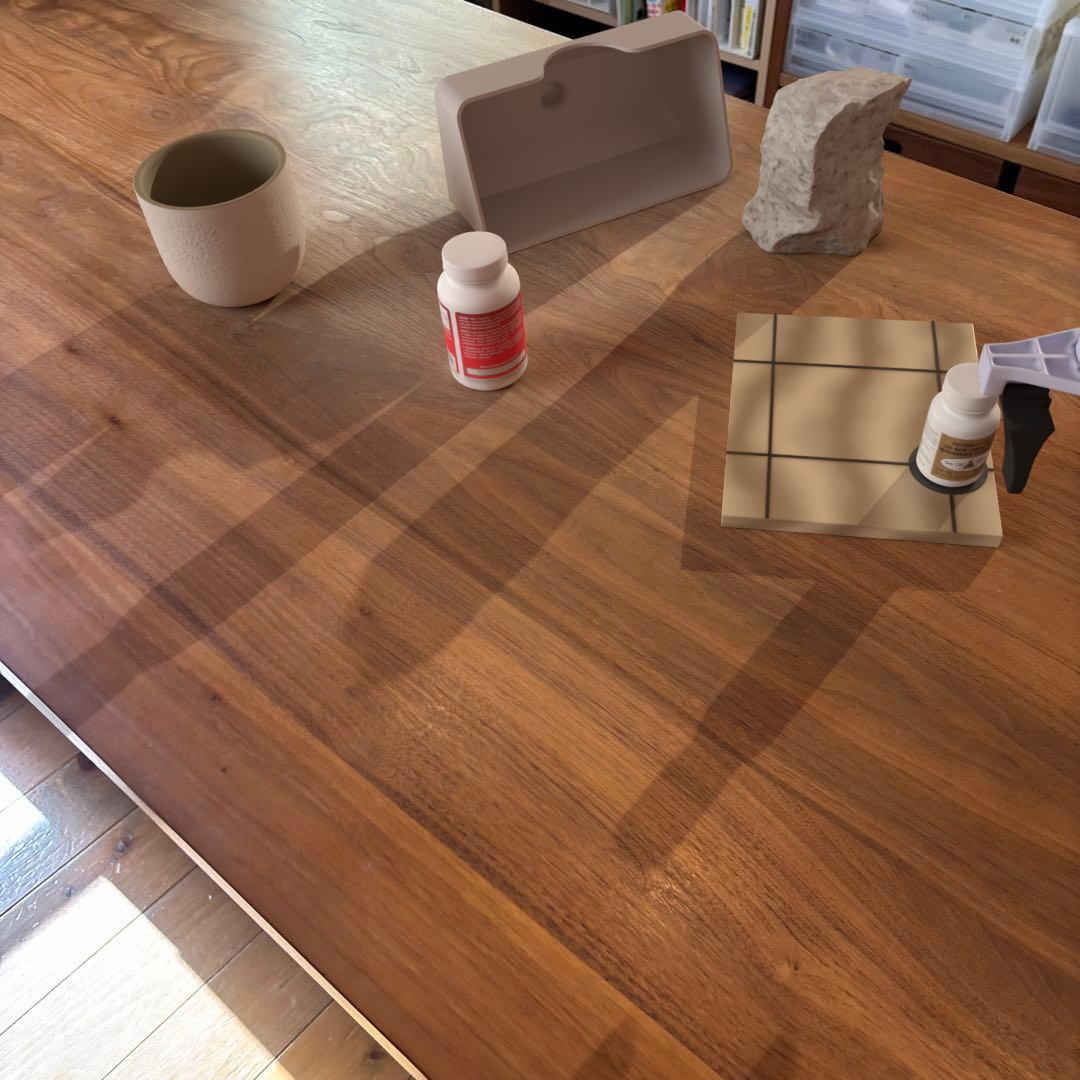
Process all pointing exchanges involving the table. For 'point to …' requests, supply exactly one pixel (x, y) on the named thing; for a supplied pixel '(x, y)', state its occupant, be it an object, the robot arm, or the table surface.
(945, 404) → the pill bottle
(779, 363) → the board
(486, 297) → the pill bottle
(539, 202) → the grey storage bin
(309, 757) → the table surface
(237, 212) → the planter
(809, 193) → the decorative stone
